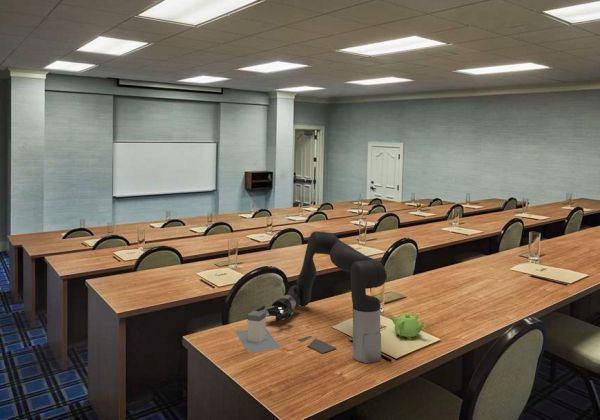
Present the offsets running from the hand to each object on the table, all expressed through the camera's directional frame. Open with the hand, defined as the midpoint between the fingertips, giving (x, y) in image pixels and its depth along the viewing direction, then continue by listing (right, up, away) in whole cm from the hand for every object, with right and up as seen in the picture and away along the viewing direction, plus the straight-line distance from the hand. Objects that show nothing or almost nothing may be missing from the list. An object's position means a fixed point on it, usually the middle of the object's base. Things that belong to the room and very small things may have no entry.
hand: (266, 318), depth 184 cm
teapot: (+54, -6, -4) cm, 55 cm away
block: (-3, -6, -7) cm, 10 cm away
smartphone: (+19, -8, -12) cm, 23 cm away
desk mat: (-3, -7, -7) cm, 10 cm away
